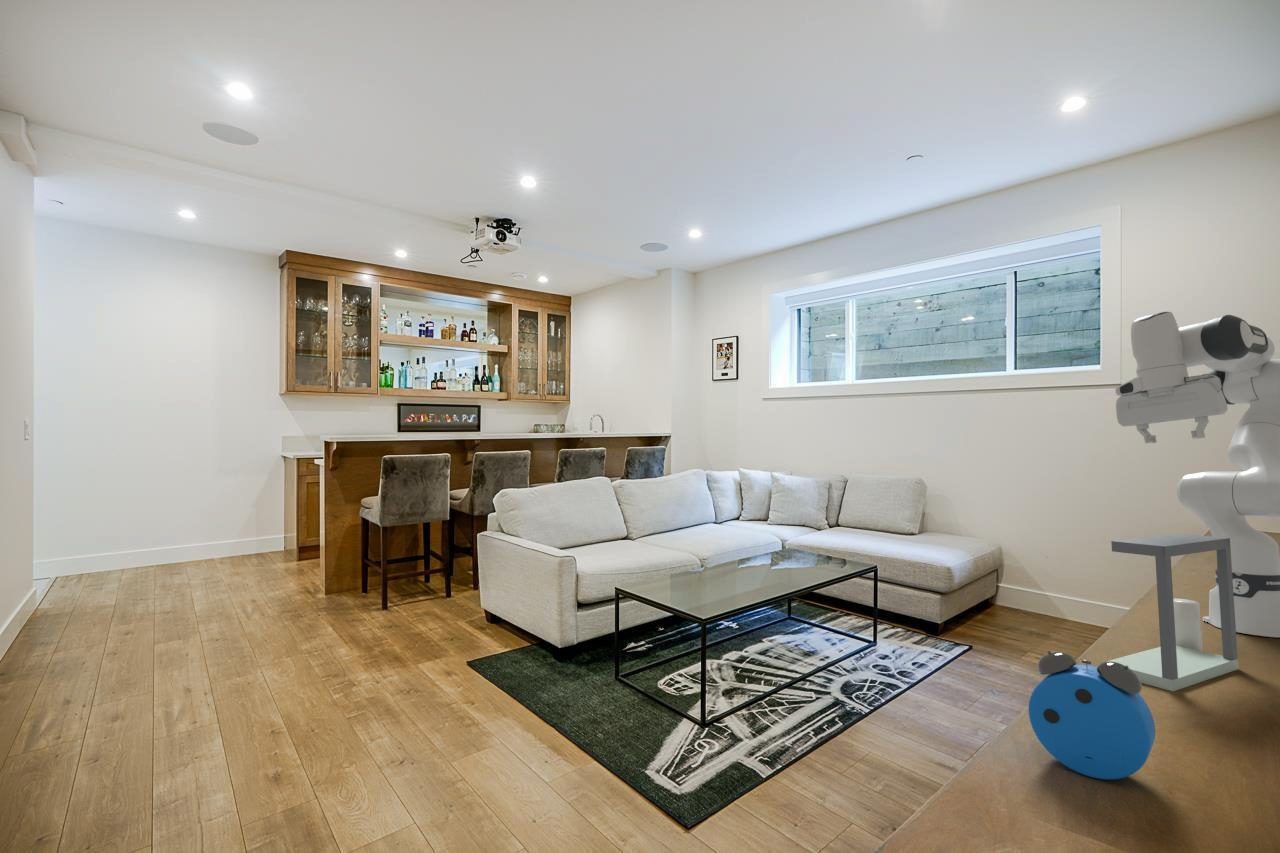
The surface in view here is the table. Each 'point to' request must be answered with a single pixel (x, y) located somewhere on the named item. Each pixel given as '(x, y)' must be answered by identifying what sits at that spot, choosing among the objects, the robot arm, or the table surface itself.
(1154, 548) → the grey frame
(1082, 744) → the alarm clock
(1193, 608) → the white cylinder
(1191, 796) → the table surface
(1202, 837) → the table surface
